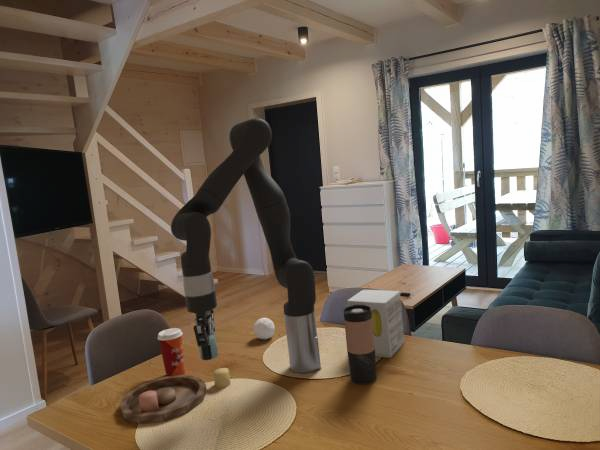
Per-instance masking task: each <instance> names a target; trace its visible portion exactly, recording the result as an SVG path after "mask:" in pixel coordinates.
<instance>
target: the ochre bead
mask: <svg viewBox="0 0 600 450" xmlns="http://www.w3.org/2000/svg"><path fill="white" fill-rule="evenodd" d="M229 369H230V368H227V367H220V368H217V369H214V370H213V380H214V387H215V388H216V389H225V388H227V387H229V386H230V385H231V375H230V371H229Z"/></svg>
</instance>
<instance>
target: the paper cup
mask: <svg viewBox="0 0 600 450" xmlns="http://www.w3.org/2000/svg"><path fill="white" fill-rule="evenodd" d="M183 334H184V333H183V331H182V330H181V329H180V328H178V327H171V328H167V329H163V330H162V331H159V333H158V334H157V340H158V344H159V348H160V353H161V356H162V361H163V366H164V371H165V375H166V377H168V376H177V375H185V372H186V371H185V358H184V343H183Z"/></svg>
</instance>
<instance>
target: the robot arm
mask: <svg viewBox="0 0 600 450" xmlns="http://www.w3.org/2000/svg"><path fill="white" fill-rule="evenodd" d="M272 140H273V132H272V129H271V126H270V124H269V123H268V122H267V121H266V120H264V119H262V118H257V117H256V118H250V119H247V120H243V121H241V122H239V123H237V124H235V125H233V126H232V127H231V128H230V132H229V142H230V146H231V149H232V151H231V153H230V154H229V155H228V156H227V157H226V158H225V159H224V160H223V161H222V162H221V163H220V164H219V165H218V166H217V167H216V168H215V169H214V170H212V172H211V173H210V174H209V175H208V176H207V177H206V179H205V180H204V181H203V183H202V184H201V185H200V187H199V189H198V190H197V191H196V193H195V194H194V195H193V197H191V198H190V200H189V199H188V201H187V202H186V203H185V204H184V205H183V206H181V208H180V209H179V210H178V211H177V213H176V214H175V215H174V217H173V218H172V220H171V223H170V225H171V226H170V231H171V234H172V235H173V237H175V239H177V240H179V241H185V243H186V250H185V251H184V252H183V253H182V254H181V256H180V265H181V271H182V278H183V281H182V282H183V283H182V285H183V292H184V298H185V303H186V304H185V305H186V310H187V312H188V313H191V314H195V318H194V325H193V332H194V335H195V340H196V344H197V347H198V348H199V347H200V346H201V350H202V357H203V360H202V361H210V359H211V358H212V353H211V346H210V335H215V332H216V327H215V314H214V313H215V310H214V309H216V308H217V306H218V302H217V301H218V300H217V294H216V287H215V279H214V276H213V274H212V273H213V272H212V267H211V260H210V259H211V258H210V250H211V249H210V248H211V239H212V231H211V230H212V228H211V224H210V221H209V219H208V217H209V216H210V215H213V214H216V212H218V211H219V210H220V208H221V207H222V206H223V204H224V202H225V201H226V200H227V198H228V196H229V195H230V194H231V192H232V191H233V188H234V187H235V186H236V184H237V183H238V181H240V179H241V178H242V177H243V176H244V178H245V182H246V185H247V187H248V191H249V193H250V196H251V199H252V203H253V206H254V209H255V212H256V215H257V217H258V221H259V224H260V226H261V229H262V233H263V235H264V239H265V241H266V244H267V247H268V250H269V252H270V257H271V262H272V267H273V271H274V276H275V278H276V280H277V281H276V282H278V284H279V285H280V286H281V287H283V288H284V289H287V301H285V303H284V304H283V316H284V324H285V332H286V342H287V350H288V358H289V367H290V370H291V371H293V372H295V373H303V374H304V373H311V372H313V371H316V370H319V369H322V366H321V356H320V348H319V347H320V346H319V337H318V331H317V321H316V313H315V305H316V300H317V294H316V292H317V291H316V280H315V278H316V277H315V272H314V269H313V267H312V265H311V264H310V263H309V262H307V261H306V260H301V259H298V258H297V256H296V253H295V251H294V249H293V246H292V242H291V213H290V209H289V206H288V203H287V200H286V196H285V194H284V191H283V190H282V189H281V188H280V186H279V184H278V183H277V182H276V180H274V179H273V177H272V176H271V175H270V174H269V173H268V171H267V170H266V168H265V165H264V164H263V160H262V158H261V155H262V154H263V153H264V152H265V151H266V150H267V149H268V148H269V146H270V145H271V142H272ZM202 339H205V341H202ZM211 360H212V359H211Z"/></svg>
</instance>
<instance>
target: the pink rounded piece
mask: <svg viewBox="0 0 600 450" xmlns="http://www.w3.org/2000/svg"><path fill="white" fill-rule="evenodd" d="M139 402H140V409H141V413H148V412H157V411H159V406H158V400H157V393H156V391H146V392H144V393H142V394H140V395H139Z"/></svg>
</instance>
